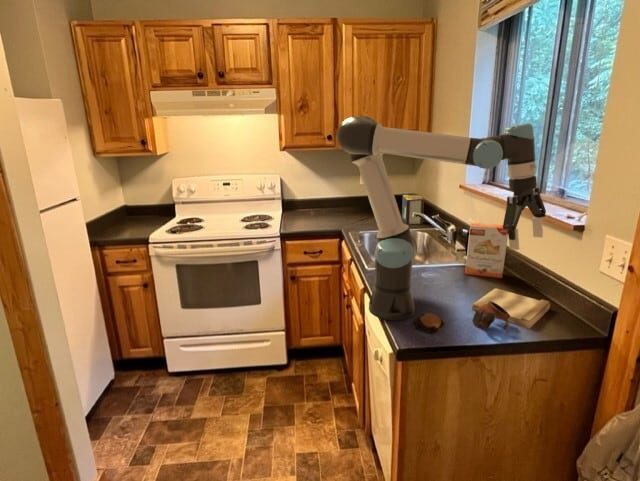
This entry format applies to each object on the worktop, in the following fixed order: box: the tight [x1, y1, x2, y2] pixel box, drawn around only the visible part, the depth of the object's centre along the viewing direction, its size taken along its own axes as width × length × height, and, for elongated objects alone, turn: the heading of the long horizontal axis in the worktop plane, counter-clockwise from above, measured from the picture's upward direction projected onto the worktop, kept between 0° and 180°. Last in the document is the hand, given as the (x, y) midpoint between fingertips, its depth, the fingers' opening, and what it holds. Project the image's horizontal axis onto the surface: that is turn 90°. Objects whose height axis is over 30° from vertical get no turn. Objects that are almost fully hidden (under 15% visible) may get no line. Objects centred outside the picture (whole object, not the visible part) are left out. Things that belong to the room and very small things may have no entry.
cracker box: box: [464, 222, 509, 279], centre depth 157 cm, size 14×6×21 cm, turn 70°
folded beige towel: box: [471, 287, 551, 329], centre depth 130 cm, size 18×18×3 cm
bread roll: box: [412, 312, 445, 336], centre depth 121 cm, size 11×8×4 cm
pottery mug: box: [472, 301, 510, 330], centre depth 119 cm, size 12×10×8 cm
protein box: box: [401, 194, 425, 225], centre depth 244 cm, size 10×15×16 cm
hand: (526, 242), depth 124 cm, fingers open, 13 cm apart
